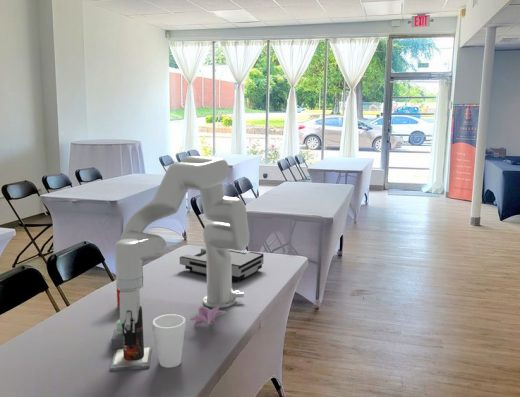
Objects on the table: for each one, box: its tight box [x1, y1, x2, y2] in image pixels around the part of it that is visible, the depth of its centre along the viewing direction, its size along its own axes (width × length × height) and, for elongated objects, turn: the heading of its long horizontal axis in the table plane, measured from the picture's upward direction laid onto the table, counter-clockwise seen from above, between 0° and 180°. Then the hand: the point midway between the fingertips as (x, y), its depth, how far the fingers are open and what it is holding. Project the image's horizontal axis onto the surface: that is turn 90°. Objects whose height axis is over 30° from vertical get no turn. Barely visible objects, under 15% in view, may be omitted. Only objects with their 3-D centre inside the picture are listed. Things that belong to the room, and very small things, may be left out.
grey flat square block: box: [109, 346, 153, 372], centre depth 145 cm, size 11×11×2 cm
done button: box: [116, 319, 122, 332], centre depth 155 cm, size 4×4×2 cm
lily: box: [189, 305, 227, 335], centre depth 164 cm, size 12×12×10 cm
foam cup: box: [152, 313, 187, 369], centre depth 143 cm, size 10×9×13 cm
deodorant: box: [122, 305, 145, 361], centre depth 144 cm, size 6×6×15 cm
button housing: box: [110, 328, 123, 349], centre depth 156 cm, size 7×7×3 cm
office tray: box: [179, 246, 264, 284], centre depth 223 cm, size 21×32×8 cm, turn 59°
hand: (132, 336), depth 144 cm, fingers open, 9 cm apart
